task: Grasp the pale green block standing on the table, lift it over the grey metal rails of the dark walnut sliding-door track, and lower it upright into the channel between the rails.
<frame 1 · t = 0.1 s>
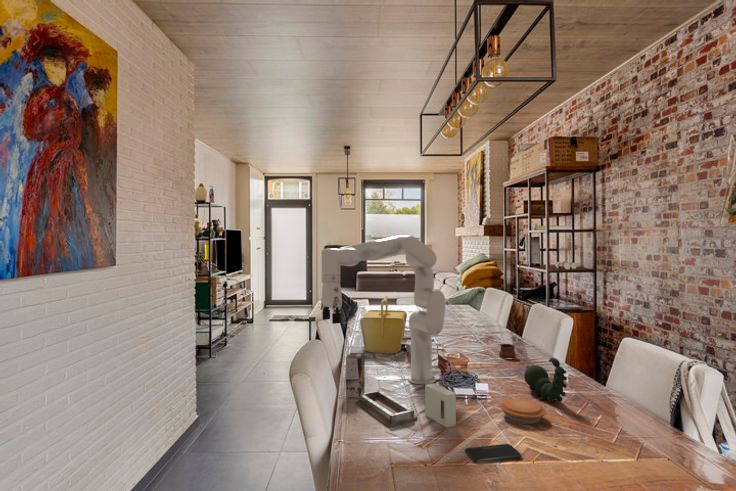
hand: (331, 321, 169), 31 cm above the table, tool pointing down, fingers open, 9 cm apart
pie: (522, 418, 150), on the table
coffee box: (355, 394, 175), on the table
phone: (492, 456, 124), on the table
picnic basket: (384, 348, 252), on the table
pale green block: (440, 420, 148), on the table
ceramic pot: (507, 358, 230), on the table
toy figurine: (543, 397, 171), on the table
door track: (385, 411, 156), on the table
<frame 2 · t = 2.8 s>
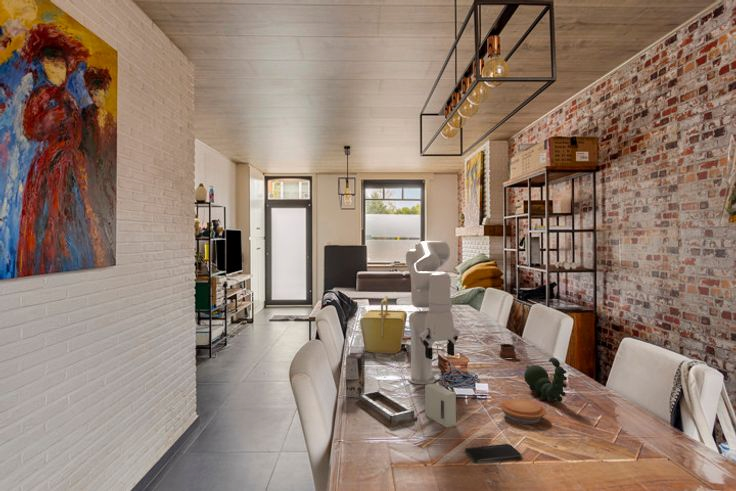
hand: (439, 356, 148), 22 cm above the table, tool pointing down, fingers open, 9 cm apart
nothing on the table moved.
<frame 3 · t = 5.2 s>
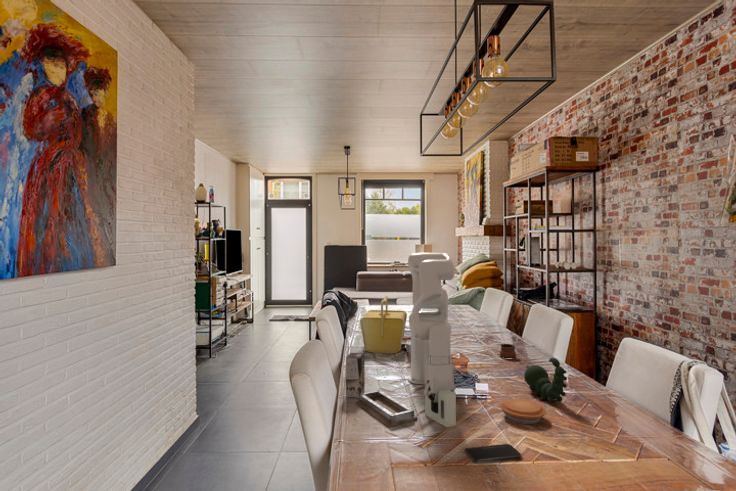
hand: (439, 410, 148), 3 cm above the table, tool pointing down, fingers closed on pale green block, 4 cm apart
pale green block: (440, 419, 148), on the table, touching gripper
everything else where it was.
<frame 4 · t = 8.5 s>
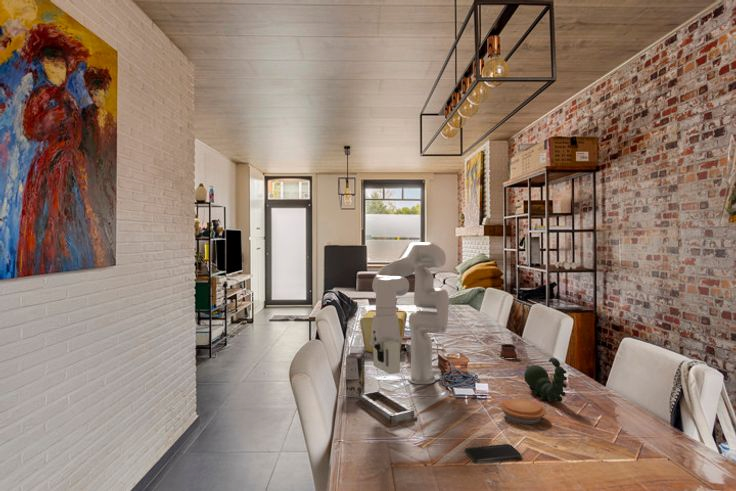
hand: (386, 360, 156), 19 cm above the table, tool pointing down, fingers closed on pale green block, 4 cm apart
pale green block: (386, 369, 156), point 16 cm above the table, touching gripper
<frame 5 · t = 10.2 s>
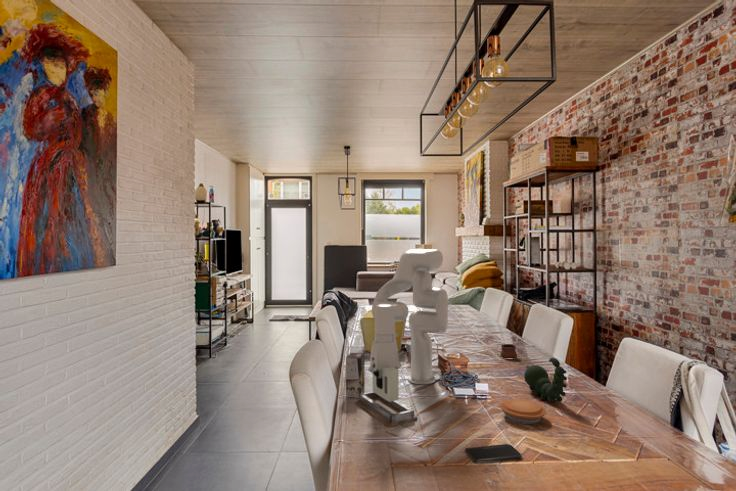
hand: (385, 386, 156), 9 cm above the table, tool pointing down, fingers closed on pale green block, 4 cm apart
pale green block: (385, 395, 156), point 6 cm above the table, touching gripper
everything else where it was.
when the fingers open (5 cm above the table, at t = 11.8 s): pale green block stays where it is, resting on door track.
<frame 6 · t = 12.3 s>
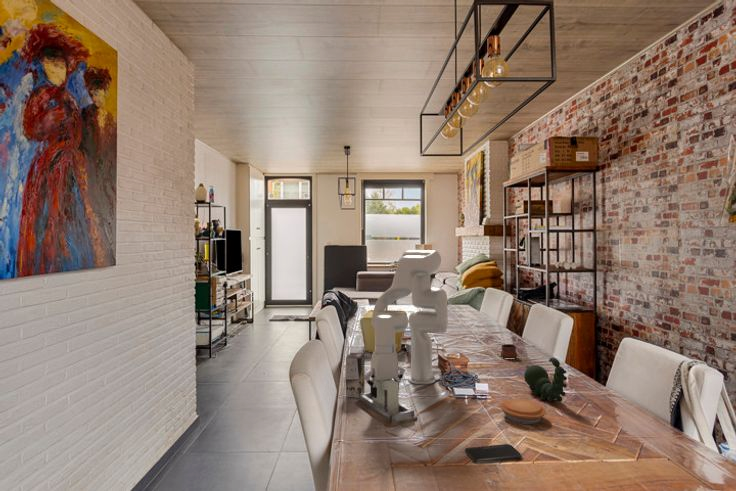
hand: (385, 394, 156), 6 cm above the table, tool pointing down, fingers open, 9 cm apart
pale green block: (385, 408, 156), point 1 cm above the table, touching door track
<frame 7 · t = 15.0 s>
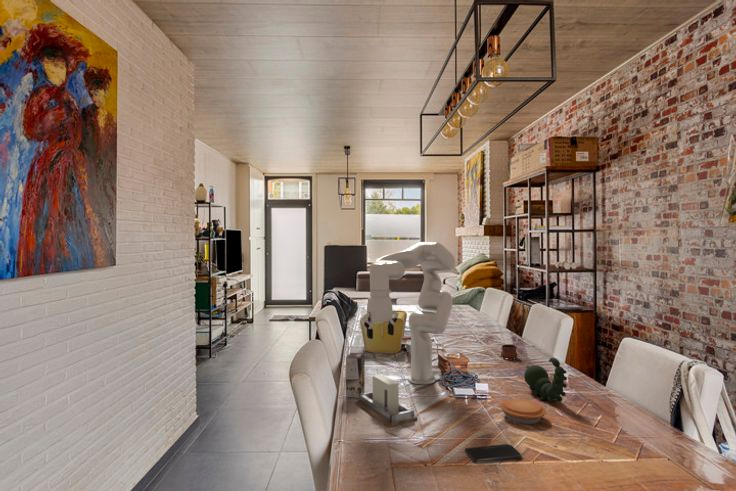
hand: (380, 336, 167), 25 cm above the table, tool pointing down, fingers open, 9 cm apart
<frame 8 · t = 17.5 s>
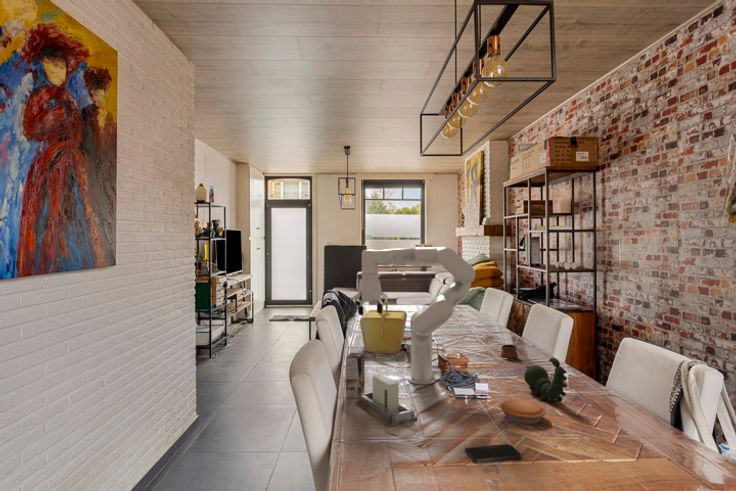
hand: (370, 314, 192), 30 cm above the table, tool pointing down, fingers open, 9 cm apart
at the end: pale green block inside the target area on the door track (0.1 cm from its centre), point 1.0 cm above the door track's base; pale green block tilted 0°; the gripper is holding nothing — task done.
